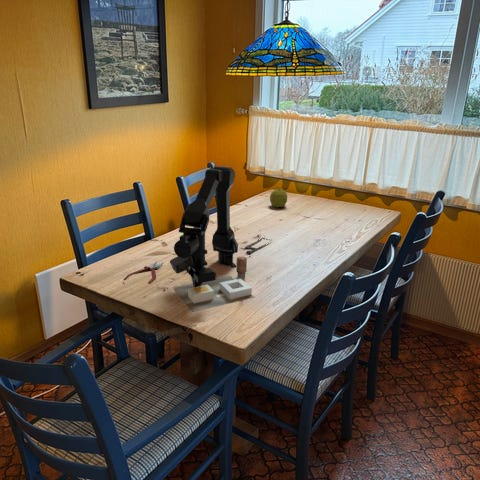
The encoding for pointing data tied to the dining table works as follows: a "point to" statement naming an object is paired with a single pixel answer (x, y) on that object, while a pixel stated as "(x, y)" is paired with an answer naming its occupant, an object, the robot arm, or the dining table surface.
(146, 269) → the pliers
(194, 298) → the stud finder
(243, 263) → the brown wooden peg
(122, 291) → the dining table surface
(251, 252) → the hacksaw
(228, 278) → the board
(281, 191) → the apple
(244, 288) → the pilot socket
